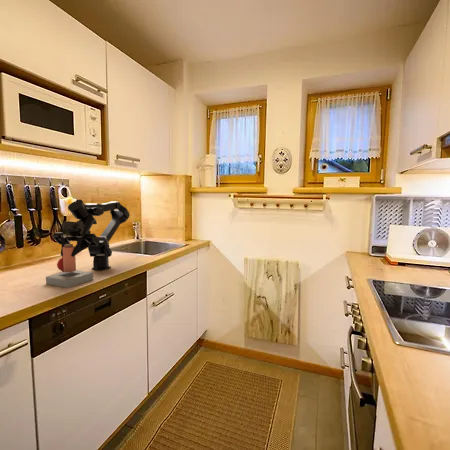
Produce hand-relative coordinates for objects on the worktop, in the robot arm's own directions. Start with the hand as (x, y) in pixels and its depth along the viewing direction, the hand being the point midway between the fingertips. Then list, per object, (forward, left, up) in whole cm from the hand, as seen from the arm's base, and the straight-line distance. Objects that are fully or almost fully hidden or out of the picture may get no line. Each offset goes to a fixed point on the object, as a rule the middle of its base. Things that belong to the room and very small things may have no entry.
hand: (66, 255), depth 109 cm
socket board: (-1, 0, -11) cm, 11 cm away
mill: (-1, 0, -7) cm, 7 cm away
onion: (-10, -15, -11) cm, 22 cm away
